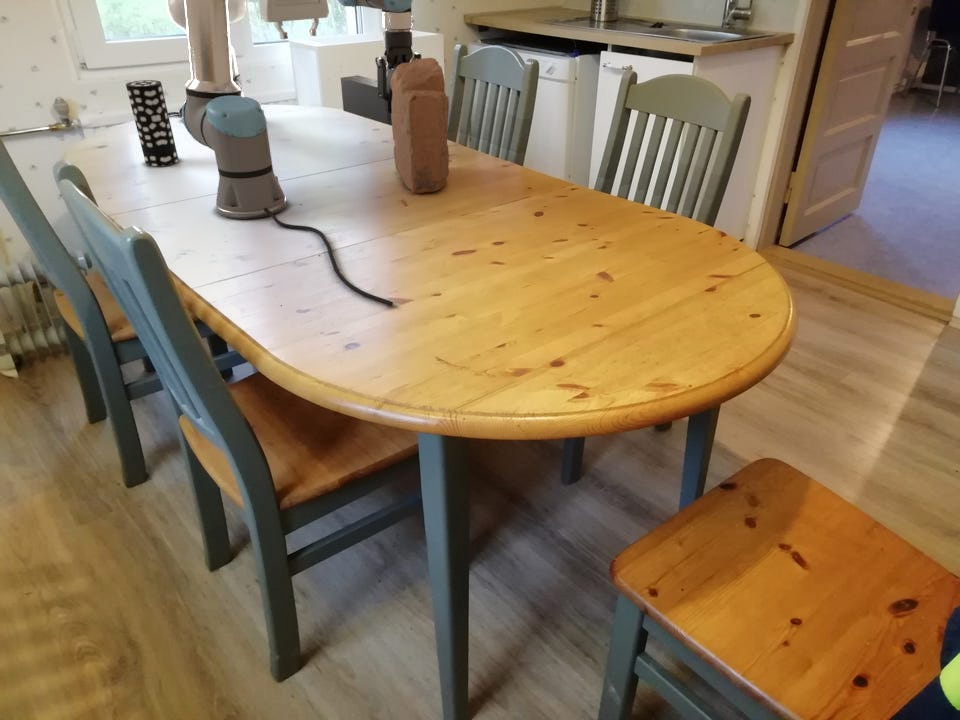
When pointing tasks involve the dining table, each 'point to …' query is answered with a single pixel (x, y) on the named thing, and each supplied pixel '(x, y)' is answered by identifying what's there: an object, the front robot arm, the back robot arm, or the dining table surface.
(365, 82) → the bar
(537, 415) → the dining table surface
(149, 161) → the black white spotted cylinder
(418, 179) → the stone
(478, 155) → the dining table surface
